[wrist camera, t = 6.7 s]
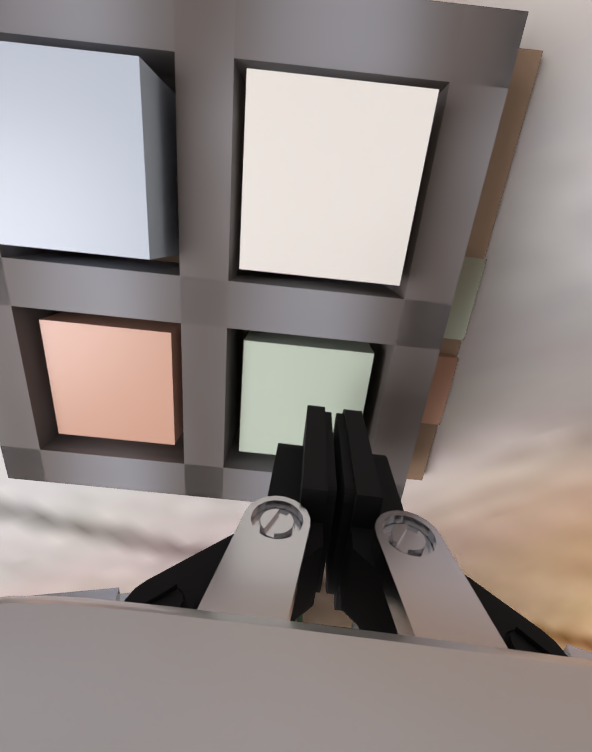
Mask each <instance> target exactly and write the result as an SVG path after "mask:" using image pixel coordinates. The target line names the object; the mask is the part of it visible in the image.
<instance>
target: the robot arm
mask: <svg viewBox="0 0 592 752" xmlns="http://www.w3.org/2000/svg"><path fill="white" fill-rule="evenodd" d="M325 561H326V593H329V594H334V608H335V610H341V611H344V612H345V613H346V614H347V615H348V616H349V617H350V618H351V619H352V620H353V624H352V629H351V628H343V627H335V626H327V625H319V624H311V623H303V622H296V619H297V618H298V617H299V616H301V615H302V614H303V613H304V612H305V611H307V610H308V609H309V608H310V607H312V606H313V604H314V598H315V592H320V590H321V585H322V579H323V573H324V567H325ZM0 752H592V653H591V652H588V651H585V650H582V649H579V648H576V647H573V646H570V645H566V647H565V649H564V650H562V649H561V648H560V647H559V645H558V644H557V643H556V642H555V641H554V640H553V639H552V638H550V637H549V636H548V635H547V634H546V633H545V632H543V631H542V630H541V629H539V628H538V627H537V626H535V625H534V624H533V623H531V622H530V621H528V620H527V619H526V618H524V617H523V616H521V615H520V614H519V613H517V612H516V611H515V610H513V609H512V608H510V607H509V606H508V605H506V604H505V603H503V602H502V601H501V600H499V599H498V598H497V597H495V596H494V595H492V594H491V593H490V592H488V591H487V590H485V589H484V588H483V587H481V586H480V585H479V584H477V583H476V582H474V581H473V580H472V579H470V578H469V577H467V576H466V575H465V574H464V573H463V572H462V570H461V568H460V566H459V565H458V563H457V561H456V560H455V558H454V556H453V555H452V553H451V551H450V550H449V548H448V546H447V544H446V543H445V541H444V539H443V538H442V536H441V534H440V533H439V532H438V531H437V529H436V528H435V527H434V526H433V525H432V524H431V523H429V522H428V521H427V520H425V519H424V518H422V517H420V516H418V515H416V514H413V513H410V512H407V511H404V510H403V507H402V504H401V500H400V497H399V494H398V491H397V488H396V484H395V481H394V478H393V475H392V471H391V468H390V465H389V462H388V459H387V457H386V456H385V455H378V454H372V450H371V446H370V442H369V438H368V434H367V430H366V426H365V422H364V418H363V414H362V411H356V410H348V409H344V410H343V413H336V417H335V424H334V430H333V427H332V413H331V412H325V407H321V406H313V405H308V406H307V413H306V421H305V430H304V438H303V446H301V445H293V444H284V443H278V446H277V451H276V456H275V461H274V466H273V471H272V476H271V481H270V486H269V491H268V496H267V497H263V498H261V499H258V500H256V501H255V502H253V503H252V504H250V506H249V507H248V508H247V510H246V511H245V513H244V515H243V517H242V519H241V521H240V523H239V525H238V527H237V529H236V531H235V533H234V534H232V535H231V536H229V537H227V538H225V539H223V540H221V541H219V542H217V543H216V544H214V545H212V546H210V547H208V548H206V549H204V550H203V551H201V552H199V553H197V554H195V555H193V556H191V557H189V558H188V559H186V560H184V561H182V562H180V563H178V564H176V565H174V566H173V567H171V568H169V569H167V570H165V571H163V572H161V573H160V574H158V575H156V576H154V577H152V578H150V579H148V580H146V581H145V582H144V583H142V584H141V585H139V586H138V587H136V588H135V589H134V590H133V591H132V592H131V593H123V594H120V592H119V588H110V589H99V590H88V591H77V592H66V593H55V594H44V595H33V596H7V597H0Z"/></svg>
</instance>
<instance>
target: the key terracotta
mask: <svg viewBox="0 0 592 752" xmlns="http://www.w3.org/2000/svg"><path fill="white" fill-rule="evenodd" d="M39 323H40V329H41V334H42V340H43V346H44V352H45V357H46V363H47V369H48V374H49V380H50V386H51V392H52V397H53V403H54V409H55V415H56V420H57V426H58V432H59V434H69V435H79V436H90V437H100V438H110V439H120V440H130V441H140V442H150V443H160V444H170V445H175V444H176V442H177V441H178V439H179V437H180V436H181V434H182V433H183V389H182V346H181V323H173V322H164V321H154V320H144V319H134V318H125V317H115V316H105V315H95V314H86V313H76V312H66V311H63V312H60V313H57V314H54V315H51V316H48V317H45V318H42V319H39Z"/></svg>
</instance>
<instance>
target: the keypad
mask: <svg viewBox="0 0 592 752" xmlns="http://www.w3.org/2000/svg"><path fill="white" fill-rule="evenodd" d="M527 16H528V11H519V10H510V9H501V8H493V7H484V6H475V5H466V4H457V3H448V2H440V1H431V0H0V41H6V42H15V43H24V44H33V45H42V46H51V47H60V48H69V49H78V50H87V51H96V52H105V53H114V54H123V55H132V56H139V57H140V58H141V59H142V60H143V61H144V62H145V63H146V64H147V65H148V66H149V67H150V68H151V69H152V70H153V72H154V73H155V74H156V75H157V76H158V77H159V78H160V79H161V80H162V81H163V82H164V83H165V84H166V85H167V86H168V87H169V88H170V89H171V90H172V91H173V92H174V93H175V94H176V132H177V175H178V217H179V254H178V255H173V256H167V257H162V258H156V259H150V260H148V259H139V258H129V257H119V256H110V255H100V254H91V253H81V252H72V251H62V250H52V249H43V248H33V247H24V246H14V245H4V244H0V446H1V450H2V454H3V458H4V462H5V466H6V470H7V474H8V478H14V479H24V480H34V481H45V482H55V483H65V484H75V485H86V486H96V487H106V488H117V489H127V490H137V491H147V492H158V493H168V494H178V495H188V496H199V497H209V498H219V499H230V500H240V501H250V502H255V501H256V500H258V499H261V498H263V497H267V496H268V491H269V486H270V481H271V476H272V471H273V466H274V461H275V456H276V455H273V454H263V453H252V452H242V451H239V439H240V417H241V395H242V373H243V350H244V339H245V338H246V336H247V334H248V332H249V331H250V330H251V331H261V332H271V333H281V334H290V335H300V336H310V337H320V338H329V339H339V340H349V341H359V342H368V343H369V345H370V347H371V349H372V350H373V352H374V358H373V363H372V369H371V374H370V379H369V384H368V390H367V395H366V400H365V406H364V411H363V418H364V422H365V426H366V430H367V434H368V438H369V442H370V446H371V450H372V454H378V455H385V456H386V457H387V459H388V462H389V465H390V468H391V471H392V475H393V478H394V481H395V484H396V488H397V491H398V494H399V497H400V500H401V498H402V494H403V490H404V486H405V482H406V479H414V480H422V479H423V475H424V472H425V468H426V465H427V461H428V458H429V454H430V450H431V447H432V443H433V440H434V436H435V433H436V429H437V426H438V425H440V422H441V419H442V415H443V412H444V408H445V404H446V401H447V397H448V394H449V390H450V387H451V383H452V380H453V376H454V373H455V369H456V366H457V362H458V359H459V358H457V355H458V351H459V348H460V344H461V341H462V340H464V338H465V334H466V331H467V327H468V324H469V320H470V317H471V313H472V310H473V306H474V302H475V299H476V295H477V292H478V288H479V285H480V281H481V278H482V274H483V271H484V267H485V264H486V260H487V259H485V255H486V252H487V248H488V245H489V241H490V238H491V234H492V231H493V227H494V223H495V220H496V216H497V213H498V209H499V206H500V202H501V199H502V195H503V192H504V188H505V184H506V181H507V177H508V174H509V170H510V167H511V163H512V160H513V156H514V153H515V149H516V145H517V142H518V138H519V135H520V131H521V128H522V124H523V121H524V117H525V114H526V110H527V106H528V103H529V99H530V96H531V92H532V89H533V85H534V82H535V78H536V75H537V71H538V67H539V64H540V60H541V57H542V53H543V51H540V50H531V49H522V48H519V46H520V42H521V39H522V35H523V31H524V27H525V23H526V20H527ZM247 68H250V69H259V70H268V71H277V72H286V73H295V74H304V75H313V76H322V77H331V78H340V79H350V80H359V81H368V82H377V83H386V84H395V85H404V86H413V87H422V88H431V89H439V93H438V98H437V103H436V108H435V113H434V117H433V122H432V127H431V132H430V137H429V142H428V147H427V152H426V157H425V162H424V167H423V172H422V177H421V182H420V187H419V192H418V197H417V202H416V206H415V211H414V216H413V221H412V226H411V231H410V236H409V241H408V246H407V251H406V256H405V261H404V266H403V271H402V276H401V281H400V286H397V285H388V284H378V283H369V282H359V281H349V280H340V279H330V278H321V277H311V276H302V275H292V274H282V273H273V272H263V271H254V270H244V269H239V264H240V237H241V210H242V183H243V156H244V129H245V102H246V75H247ZM63 311H66V312H76V313H86V314H95V315H105V316H115V317H125V318H134V319H144V320H154V321H164V322H173V323H181V346H182V389H183V433H182V434H181V436H180V437H179V439H178V441H177V442H176V444H175V445H170V444H160V443H150V442H140V441H130V440H120V439H110V438H100V437H90V436H79V435H69V434H59V432H58V426H57V420H56V415H55V409H54V403H53V397H52V392H51V386H50V380H49V374H48V369H47V363H46V357H45V352H44V346H43V340H42V334H41V329H40V323H39V319H42V318H45V317H48V316H51V315H54V314H57V313H60V312H63Z"/></svg>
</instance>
